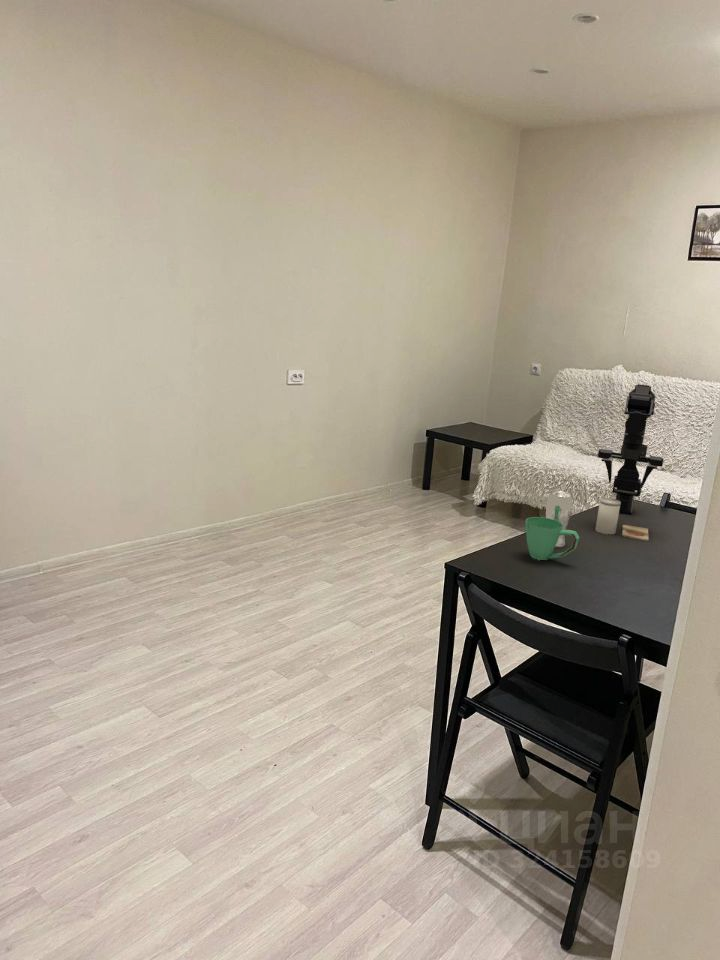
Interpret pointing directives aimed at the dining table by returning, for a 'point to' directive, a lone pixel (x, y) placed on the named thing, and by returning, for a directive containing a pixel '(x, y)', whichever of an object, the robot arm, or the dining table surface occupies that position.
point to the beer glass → (559, 510)
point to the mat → (635, 532)
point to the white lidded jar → (607, 516)
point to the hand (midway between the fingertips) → (625, 485)
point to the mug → (546, 537)
